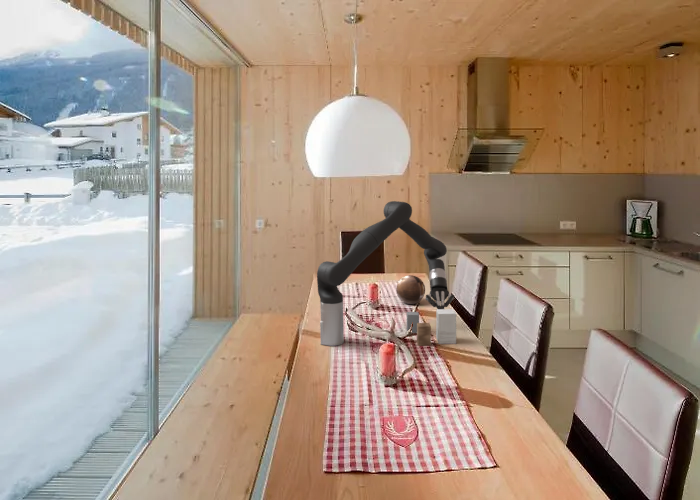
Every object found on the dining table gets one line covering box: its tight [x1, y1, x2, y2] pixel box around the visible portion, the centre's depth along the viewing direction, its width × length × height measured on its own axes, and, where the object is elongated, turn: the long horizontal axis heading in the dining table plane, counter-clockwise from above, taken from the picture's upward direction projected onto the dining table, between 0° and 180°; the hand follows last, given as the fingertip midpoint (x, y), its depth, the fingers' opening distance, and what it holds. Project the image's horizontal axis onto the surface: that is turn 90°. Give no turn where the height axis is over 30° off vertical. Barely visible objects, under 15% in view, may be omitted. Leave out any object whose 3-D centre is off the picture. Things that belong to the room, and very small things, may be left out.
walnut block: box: [416, 322, 432, 347], centre depth 213 cm, size 5×5×8 cm
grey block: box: [406, 311, 420, 334], centre depth 230 cm, size 5×5×8 cm
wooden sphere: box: [395, 274, 426, 305], centre depth 277 cm, size 15×15×15 cm
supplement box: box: [435, 308, 457, 345], centre depth 215 cm, size 7×7×13 cm
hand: (441, 314), depth 228 cm, fingers closed
